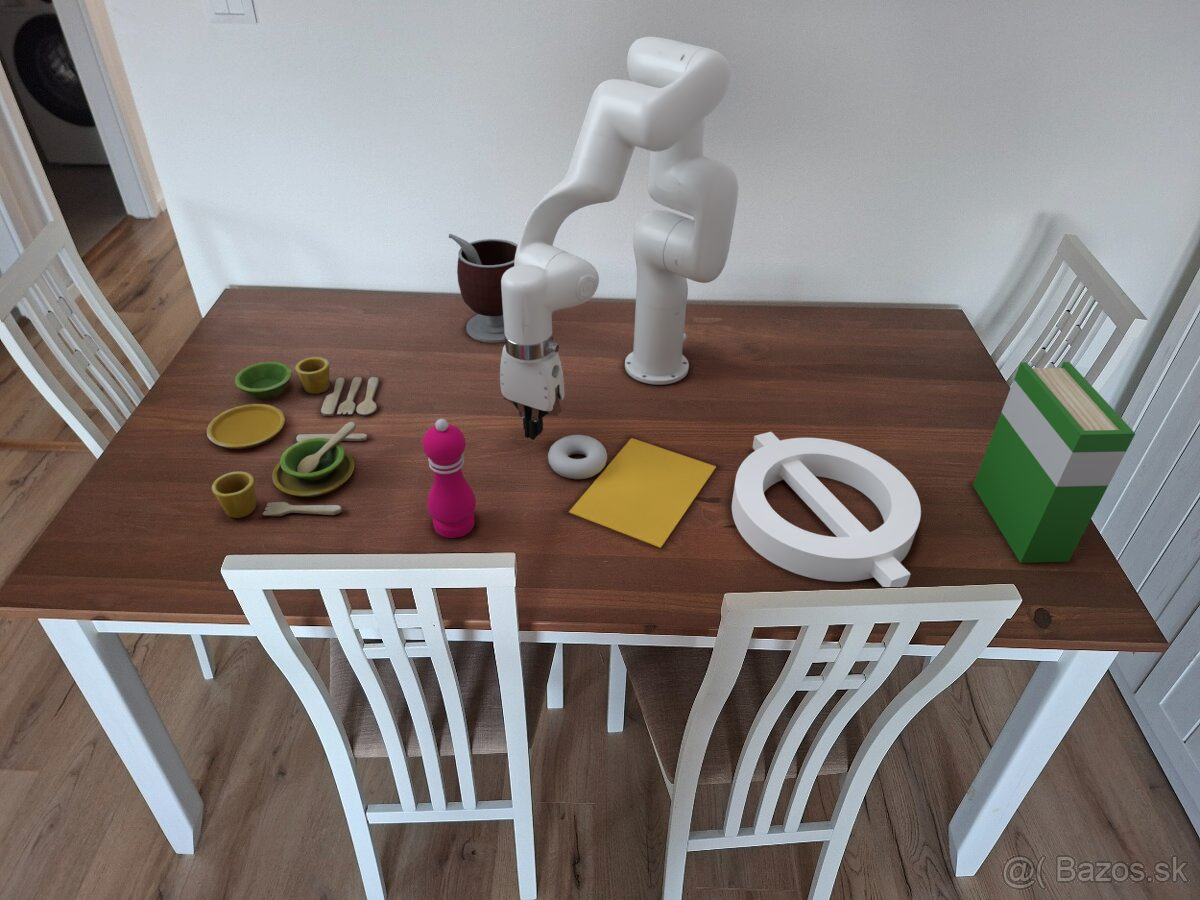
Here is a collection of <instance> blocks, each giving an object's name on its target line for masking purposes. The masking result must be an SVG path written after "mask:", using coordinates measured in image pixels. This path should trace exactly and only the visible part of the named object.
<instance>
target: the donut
mask: <svg viewBox="0 0 1200 900" xmlns="http://www.w3.org/2000/svg"><path fill="white" fill-rule="evenodd" d="M573 455H582V456H584V457H583V458H572V457H571V456H573ZM547 459H548V460H547V461H548V464H549V466H550V468H551V469H552V470H553V472H555V473H556V474H557V475H558V476H560V477H564V478H566V479H569V480H586V479H589V478H592V477H594V476H596V475H598V474H599V473H601V472H602V471H603V470H604V469H605V468H606V465H607V461H608V453H607V449H606V448H605V446H604V444H602V442H601V441H599V440H597V439H596V438H594V437H592V436H589V435H585V434H571V435H567V436H564V437H562V438H559V439H558V440H555V442H554V443H553V444H552V445H551V446H550V447H549V451H548V453H547Z"/></svg>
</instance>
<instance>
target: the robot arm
mask: <svg viewBox="0 0 1200 900" xmlns="http://www.w3.org/2000/svg"><path fill="white" fill-rule="evenodd" d="M626 67H627V73H628V77H629V79H630V80H628V79H621V78H612V79H611V78H610V79H606V80H604V81H602V82H601V83H599V84H598V85H597V86H596V88H595V90H593V93H592V95H591V98H590V101H589V104H588V108H587V110H586V114H585V116H584V119H583V123H582V125H581V129H580V132H579V135H578V138H577V141H576V144H575V147H574V150H573V153H572V156H571V158H570V162H569V166H568V168H567V171H566V174H565V176H564V178H563V179H562V180H561V181H560V182H559V183H558V184H557V185H555V186H554V187H553V188H551V189H550V190H549V191H548V192H547V193H546V194H545V195H544V196H543V197H541V199H540V200H539V201H538V202H537V203H536V205H535V206H534V207H533V208H532V209H531V211H530V213H529V214H528V216H527V218H526V220H525V221H524V224H523V227H522V230H521V233H520V237H519V239H518V243H517V244H518V246H517V250H516V254H515V261H514V267H512V268H510V269H508V270H507V271H506V272H505V273H504V274H503V276H502V279H501V290H502V304H503V319H504V332H505V342H504V346H503V347H502V352H501V356H500V365H499V366H500V367H499V382H500V384H499V385H500V390H501V391H500V393H501V395H502V397H503V399H504V400H505V401H507V402H508V403H510V404H512V405H513V406H514V407H515V408H516V409H517V411H518V414H519V417H520V418H522V426H523V431H524V438H526V439H530V440H532V441H534V440H535V439H536V438H537V437H538V436H539V435H541V434H542V433H543V431H544V420H543V419H544V417H546V416H551V417H558V416H559V415H560V414H561V413H562V407H561V403H560V401H563V400H564V399H565V380H564V372H563V366H562V362H561V358H560V355H559V351H560V344H559V343H556V342H555V341H554V335H553V313H554V312H557V311H561V310H566V309H570V308H574V307H577V306H581V305H582V304H584V303H586V302H588V301H589V300H590V299H591V298H593V297H594V295H595V293H596V292H597V290H598V288H599V283H600V277H599V273H598V270H597V269H596V267H595V266H594V265H593V264H592V263H590V262H589V261H587V260H586V259H584V258H582V257H579V256H577V255H574V254H572V253H570V252H567V251H566V250H564V249H561V248H558V247H556V246H554V243H555V239H556V236H557V234H558V231H559V230H560V227H561V226H562V224H563V223H564V222H565V220H567V218H568V217H569V216H570V215H572V214H573V213H575V212H576V211H578V210H580V209H582V208H585V207H588V206H592V205H595V204H604V203H609V202H611V201H614V200H615V199H617V198H618V196H619V194H620V191H621V188H622V185H623V183H624V179H625V176H626V174H627V170H628V168H629V165H630V163H631V159H632V156H633V154H634V151H635V148H636V147H637V148H639V149H643V150H646V151H650V154H649V163H648V172H647V192H648V195H649V197H650V198H651V199H652V200H653V202H655V203H657V204H659V205H661V206H663V207H666V208H669V209H671V210H674V211H677V212H680V213H682V214H685V215H687V216H691V217H692V218H693V219H691V218H689V217H686V216H683V215H681V214H678V213H675V212H672V211H668V210H663V209H656V210H651V211H647V212H646V213H644V214H643V215H642V216H641V217H640V218H639V219H638V221H637V222H636V225H635V227H634V230H633V234H632V235H633V236H632V247H633V253H634V260H635V268H636V289H635V290H636V291H635V312H634V326H633V327H634V329H633V349H632V351H631V352H630V353H629V354H627V356H626V357H625V360H624V368H625V371H626V373H627V374H628V375H629V376H630V377H631V378H633V379H634V380H636V381H638V382H641V383H644V384H647V385H655V386H660V385H661V386H662V385H669V384H675V383H677V382H679V381H681V380H682V379H684V378H685V377H686V376H687V375H688V372H689V368H690V363H689V360H688V358H687V357H686V356H685V355H684V354H683V347H684V342H685V341H686V340H687V338H688V337H687V334H686V333H685V325H686V316H687V315H686V314H687V302H688V295H689V294H688V293H689V286H688V280H691V281H693V282H697V283H702V284H707V283H708V284H709V283H710V282H713V281H715V280H716V279H717V278H718V277H719V276H720V275H721V273H722V272H723V270H724V268H725V267H726V264H727V260H728V257H729V252H730V246H731V241H732V236H733V229H734V223H735V217H736V211H737V205H738V199H739V182H738V178H737V175H736V173H735V171H734V170H733V168H732V167H730V166H729V165H728V164H727V163H725V162H722V161H719V160H715V159H713V158H709V157H707V156H705V155H704V152H703V149H704V148H703V145H704V135H705V125H706V122H705V121H706V120H705V118H707V117H708V116H709V115H710V114H711V113H712V112H713V111H714V110H716V108H717V107H718V106H719V105H720V104H721V102H722V101H723V99H724V98H725V96H726V94H727V92H728V89H729V86H730V82H731V68H730V63H729V61H728V60H727V59H726V57H725V55H723V54H722V53H721V52H720V51H717V50H715V49H713V48H708V47H706V46H699V45H695V44H691V43H686V42H682V41H678V40H675V39H671V38H665V37H659V36H643V37H640V38H637V39H635V41H633V42H632V44H631V45H630V47H629V49H628V52H627V56H626Z"/></svg>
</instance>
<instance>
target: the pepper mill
mask: <svg viewBox="0 0 1200 900" xmlns="http://www.w3.org/2000/svg"><path fill="white" fill-rule="evenodd" d="M466 445H467V444H466V438H465V434H464V433H463V432H462V430H461V429H460V428H459V427H458V426H456V425H454V424H451V423H449V422H448V421H447V419H445V418H439V419H437V420H436V421H435V423H434V425H433V426H430V428H428V430H427V431H426V432H425V433H424V436H423V438H422V450H423V452H424V454H425V455H426V457H427V460H428V466H429V468H430V470H431V471H433V483H432V485H431V488H430V490H429V492H428V494H427V495H428V496H427V500H426V501H427V502H426V503H427V505H426V506H427V511H428V513H429V515H430V517H431V518H432V525H433V530H434V531H435V532H436V534H437V535H439V536H441V537H443V538H447V539H457V538H462V537H464V536H466V535H467V534H469V533H470V532H471V531H472V530H473V529H474V527H475V523H476V521H475V513H474V512H475V510H476V508H477V507H476V505H477V501H476V496H475V495H476V494H475V492H474V491H473V488H472V487H471V486H470V484H469V482H468V481H467V480H466V478H465V476H464V474H463V470H462V467H463V466H464V464H465V459H464V452H465V449H466Z"/></svg>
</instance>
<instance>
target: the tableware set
mask: <svg viewBox="0 0 1200 900" xmlns="http://www.w3.org/2000/svg"><path fill="white" fill-rule="evenodd" d="M294 368H295V369H294V370H295V371H296V374H297V376H298V379H299V380H300V383H301V385H302V387H303V389H304V391H305V392H306V393H308V394H311V395H318V394H322V393H325V392H327V390H329V388H330V385H331V384H330V383H331V381H330V362H329V360H328V359H327V358H325V357H321V356H311V357H307V358H303V359H302V360H300V361H298V362H297V363H296V364H295V367H294ZM292 376H293V370H292V368H291V367H290V366H289V365H287V364H285V363H283V362H280V361H262V362H258V363H253V364H251V365H249V366H245V368H243V369H242V370H240V371H238V373H237V374H236V376H235V378H234V384H235V386H236V387H237V388H238V389H239V390H241V391H242V392H245V393H246V394H248V396H250V397H252V398H253V399H256V400H271V399H273V398H276V397H278V396H280V395H281V394H282V393H283V392H284V391H285V389H286V387H287V384H288V383H289V382H290V381H291V379H292ZM379 382H380V380H379V377H376V376H371V377H369V378H368V380H367V387H366V391H365V392H366V393H365V396H364V400H363V401H361V402H360V403H359V404H357V405H356V403H355V402H354V401H355V398H356V397H357V394H358V393H359V391H360V388H361V385H362V383H363V379H362V377H361V376H355V377H353V378H352V380H351V384H350V387H349V390H348V393H347V397H346V399H345V400H344V401H343V402H341V403H340V404H339V406H338V403H339V401H340V398H341V395H342V392H343V389H344V386H345V383H346V381H345V378H344V377H337V378H336V380H335V382H334V383H335V384H334V388H333V392H332V393H329V394H328V395H326V396H325V398H324V400H323V403H322V406H321V409H320V413H321V415H322V416H325V417H333V416H334V415H335V412H336V410H337V413H336V415H338V416H341V415H343V416H347V415H348V416H353V414H354V412H355V411H356V413H357V414H358V415H360V416H369V415H372V414H374V413H375V412H376V411H377V410H378V407H377V403H376V402H375V401H374V398H375V394H376V391H377V389H378V386H379ZM337 407H338V408H337ZM285 421H286V418H285V414H284V412H283V411H282V410H281V409H279V408H278V407H275V406H274V405H271V404H265V403H250V404H249V403H248V404H242V405H238V406H235V407H232V408H230V409H227V410H225V411H223V412H221V413H219V414H217V416H215V417H214V418H213V419H212V420H211V421H210V423H209V424H208V425H207V429H206V434H207V438H208V440H209V441H211V442H212V443H213V444H214V445H216V446H219V447H222V448H225V449H230V450H231V449H232V450H245V449H250V448H251V449H252V448H255V447H258V446H261V445H263V444H266V443H267V442H270V441H271V440H272V439H274V438H275V437H276V436H277V435H278V434H279V433H280V432H281V430H282V429H283V427H284V425H285V423H286V422H285ZM356 428H357V424H356V423H355V422H354V421H348V422H347V423H346V424H344V425H343V426H342V427H341V428H340V429H339V430H338V431H337V432H336V433H309V434H308V433H307V434H306V433H304V434H303V433H302V434H298V435H297V436H296V438H295V439H296V443H294V444H292V445H291V446H289V447H288V448H287V449H285V450H284V452H283V453H282V454H281V456H280V459H279V461H278V462H277V464H276V465H275V466H274V468H273V471H272V475H271V476H272V478H271V479H272V482H273V485H275V487H276V489H278V490H279V491H281V492H283V493H285V494H287V495H290V496H294V497H297V498H314V497H319V496H324V495H327V494H329V493H331V492H334V491H336V490H337V489H338V488H340V487H341V486H342V485H344V483H346V482H347V481H348V480H349V479H350V477H351V476H352V474H353V473H354V469H355V460H354V458H353V456H352V454H351V453H349V452H348V451H347V450H345V448H344V446H343V445H342V444H341V442H342V441H344V442H364V441H365V442H366V440H367V439H368V435H367V434H366V433H353V432H354V431H355V430H356ZM211 491H212V493H213V494H214V496H215V498H216V499H217V502H218V504H220V506H221V508H222V510H223V511H224V513H225V514H226V515H227V516H228V517H230V518H233V519H240V518H244V517H247V516H249V515H251V514H252V513H253V511H255V509H256V508H257V496H256V485H255V477H254V476H253V475H252V474H251V473H249V472H246V471H240V470H239V471H231V472H227V473H224V474H223V475H220V476H219V477H217V478H216V479H215V480H214V481H213V483H212V485H211ZM265 506H266V507H265V508H264V511H263V512H262V516H264V517H283V516H285V515H288V514H295V513H296V514H308V515H309V514H310V515H323V516H325V515H326V516H335V515H339V514H340V513H342V512H343V509H342V506H341V505H338V504H326V505H325V504H320V505H319V504H318V505H317V504H315V505H313V504H311V505H309V504H307V505H305V504H304V505H294V504H290V503H289V502H286V501H273V502H268V503H267V504H266V505H265Z"/></svg>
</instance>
